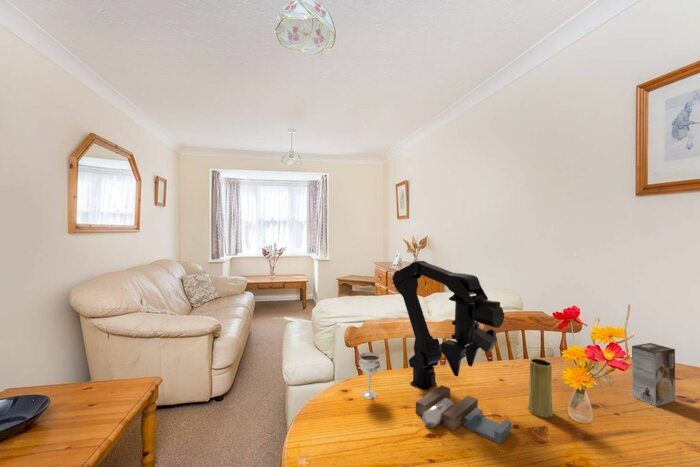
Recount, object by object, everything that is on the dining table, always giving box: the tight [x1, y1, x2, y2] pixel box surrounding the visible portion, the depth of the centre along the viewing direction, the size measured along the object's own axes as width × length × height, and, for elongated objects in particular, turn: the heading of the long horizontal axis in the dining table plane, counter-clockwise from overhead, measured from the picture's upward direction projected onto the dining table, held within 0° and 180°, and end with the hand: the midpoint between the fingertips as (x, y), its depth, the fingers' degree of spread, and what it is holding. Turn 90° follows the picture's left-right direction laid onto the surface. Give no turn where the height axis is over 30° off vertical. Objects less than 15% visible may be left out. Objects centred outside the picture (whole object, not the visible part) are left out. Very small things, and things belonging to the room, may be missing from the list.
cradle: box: [463, 407, 513, 445], centre depth 82 cm, size 9×7×3 cm
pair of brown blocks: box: [415, 384, 479, 432], centre depth 90 cm, size 12×14×3 cm
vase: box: [527, 358, 554, 419], centre depth 90 cm, size 6×6×14 cm
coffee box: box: [631, 342, 676, 407], centre depth 98 cm, size 9×6×16 cm
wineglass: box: [358, 352, 381, 400], centre depth 100 cm, size 7×7×12 cm
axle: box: [421, 398, 455, 429], centre depth 87 cm, size 10×4×4 cm, turn 134°
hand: (463, 370), depth 94 cm, fingers open, 9 cm apart
